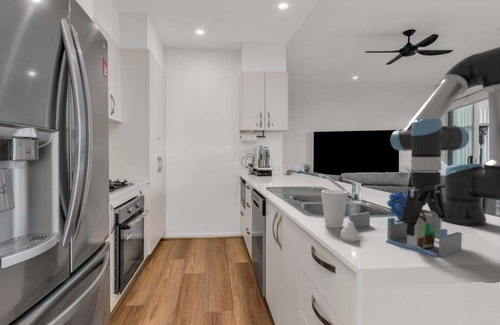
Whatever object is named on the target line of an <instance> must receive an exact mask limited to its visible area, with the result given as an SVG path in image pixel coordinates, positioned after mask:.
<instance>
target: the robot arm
mask: <svg viewBox="0 0 500 325" xmlns="http://www.w3.org/2000/svg"><path fill="white" fill-rule="evenodd" d="M477 86H482V90H483V91H485V92H486V93H488V96H487V98H488V99H487V100H488V101H487V102H488V148H489V149H488V160H486V161H485V162H484V163H483V164H482V163H467V164H466V163H465V164H453V165H452V164H451V165H449V166H447V167H446V169H445V175H444V198H443V194H442V193H443V192H442V191H443V190H442V188H443V187H442V186H440V184H441V182H442V178H441V175H442V174H441V172H439V171H441V170H442V151H451V152H452V151H458V150H461V149H463V148H465V147H466V146H467V145H468V143H469V140H470V135H469V134H470V133H469V132H468V130H467V129H465V127H461V126H456V125H449V126H448V125H444V126H443V124H442V123H443V122H442V120H441V119H442V118H443V116H444V115H445V114H446V113H447V111H448V110H449V109H450V107H451V106H452V105H453V103H454V102H455V101H456V100H457V98H458V97H459V96H461V95H463V94H465V93H466V92H467V91H468V89H470V88H472V87H477ZM389 140H390V144H391V147H392V148H393V149H394V150H396V151H404V152H406V151H410V152H411V154H410V156H411V160H410V162H411V163H410V164H411V166H410V168H411V169H410V170H412V171H411V172H410V183H411V184H412V185H415V187H414V189H411V188H409V189H408V190H407V194H408V198H407V202H406V206H405V210H404V214H403V218H402V221H401V222H403V223H406V224H407V240H406V244H407V245H410V246H413V247H417V248H419V247H418V225H416V223H417V220H418V218H419V215H420V213H421V210H422V209H423V208H424V206H426V205H427V206H428V208H429V211H433V212H435V213H437V214H438V216H439V220H440V222H439V223H437V225H436V233H435V240H436V239H437V240H439V232H440V230H441V229H442V221H443V222H447V223H451V224H456V225H462V226H473V227H474V226H476V227H477V226H486V224H487V217H486V215H485V211H484V209H483V207H482V199H489V200H497V201H500V46H498V47H496V48H492V49H488V50H485V51H482V52H478V53H475V54H474V53H473V54H471V55H468V56H466V57H464V58H463V59H461V60H460V61H459V62H457V63H456V64H455V65H452V67H451V68H450V69H449V70H448V71H447V72H446V73H445V74H444V75H443V76H442V77H441V78H440V79H439V82H438V86H437V88H436V89H435V90H434V91H433V93H432V94H431V95H430V96H429V98H428V99H427V100H426V101H425V103H424V104H423V105H422V106H421V107H420V109H419V110H418V111H417V112H416V113H415V115H414V116H413V117H412V118H411V119H410V121H409V122H408V123H407V125H406V126H405V127H404V128H403V129H397V130H395V131H393V132H392V134H391V136H390V139H389ZM406 218H407V219H406Z"/></svg>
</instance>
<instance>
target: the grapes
mask: <svg viewBox="0 0 500 325" xmlns="http://www.w3.org/2000/svg"><path fill="white" fill-rule="evenodd" d="M388 198H389V199H388V200H387V202H386V203H387V206H388V207H389V208H390V209H389V212H390V214H391V215H393V216H396V218H397V220H398V221H399V222H402V218H403V214H404V210H405V206H406V202H407V198H408V193H403V192H402V191H400V190H397V191H396V192H395V193H390V194H389V196H388Z"/></svg>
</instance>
